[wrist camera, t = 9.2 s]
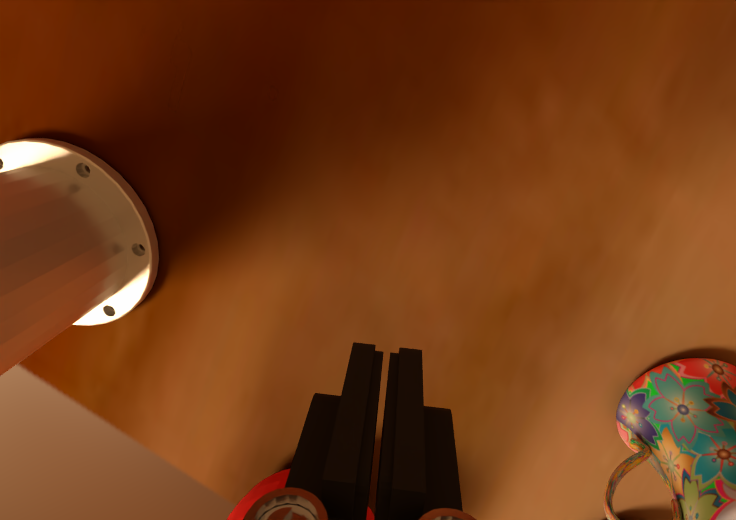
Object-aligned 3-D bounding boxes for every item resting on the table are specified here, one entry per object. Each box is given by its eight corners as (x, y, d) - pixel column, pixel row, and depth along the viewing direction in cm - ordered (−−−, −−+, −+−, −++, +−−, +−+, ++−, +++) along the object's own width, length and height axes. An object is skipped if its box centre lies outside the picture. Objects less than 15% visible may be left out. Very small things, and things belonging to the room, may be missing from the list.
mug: (766, 336, 27) (964, 485, 17) (748, 452, 30) (904, 630, 21) (560, 356, 29) (632, 498, 19) (564, 462, 32) (627, 629, 23)
